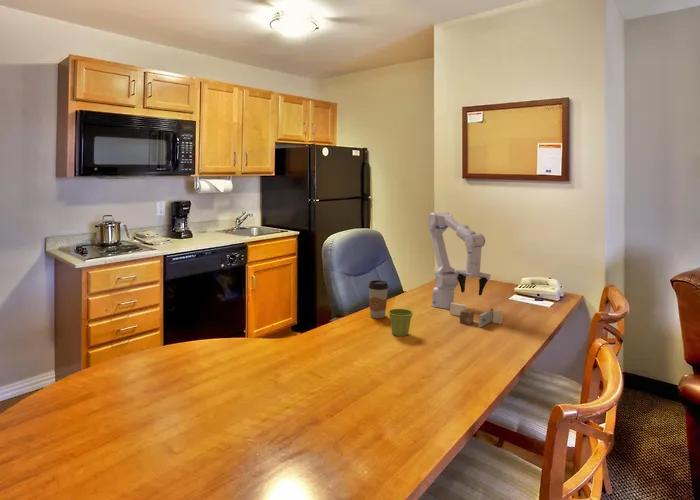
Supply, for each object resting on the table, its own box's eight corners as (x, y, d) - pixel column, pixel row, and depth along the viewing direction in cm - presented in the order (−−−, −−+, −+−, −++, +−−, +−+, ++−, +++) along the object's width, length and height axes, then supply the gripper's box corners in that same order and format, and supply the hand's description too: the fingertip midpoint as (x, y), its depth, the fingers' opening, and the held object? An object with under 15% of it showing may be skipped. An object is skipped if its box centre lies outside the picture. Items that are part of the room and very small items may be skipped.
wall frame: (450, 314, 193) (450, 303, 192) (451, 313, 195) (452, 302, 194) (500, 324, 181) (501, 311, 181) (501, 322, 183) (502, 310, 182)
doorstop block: (459, 323, 182) (460, 311, 181) (463, 320, 186) (464, 308, 185) (469, 325, 180) (469, 313, 179) (473, 322, 184) (473, 310, 183)
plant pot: (385, 329, 172) (386, 308, 171) (409, 329, 173) (410, 308, 171) (389, 338, 163) (390, 315, 161) (415, 338, 164) (415, 315, 162)
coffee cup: (365, 317, 187) (365, 283, 185) (371, 312, 195) (372, 279, 192) (383, 320, 184) (384, 285, 181) (389, 314, 191) (390, 281, 189)
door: (483, 327, 175) (484, 315, 174) (478, 326, 177) (479, 314, 176) (495, 321, 184) (496, 309, 183) (490, 320, 185) (491, 308, 184)
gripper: (453, 261, 188) (451, 292, 190) (487, 265, 180) (485, 298, 182) (459, 259, 194) (457, 289, 196) (492, 263, 186) (490, 294, 188)
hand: (471, 293), depth 189 cm, fingers open, 7 cm apart
